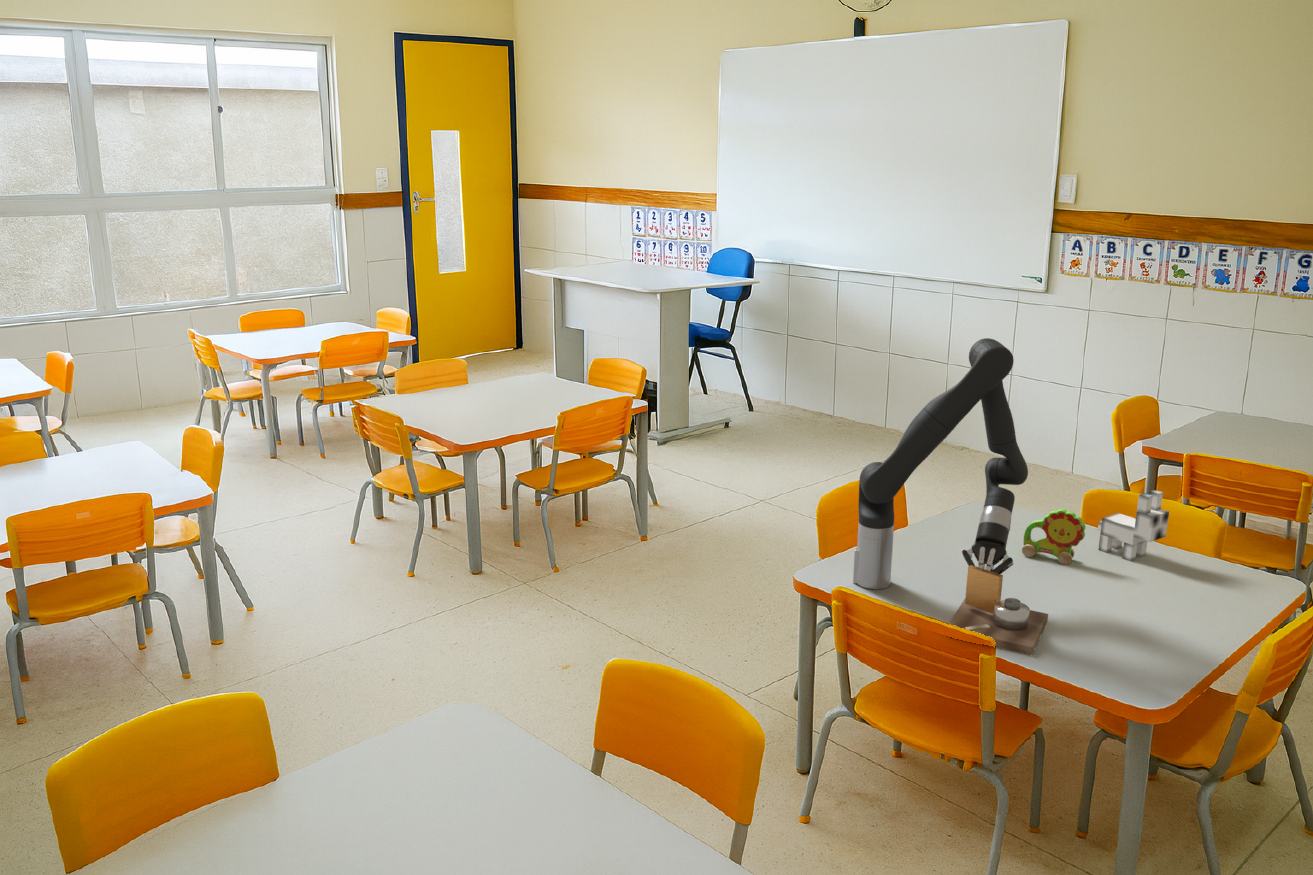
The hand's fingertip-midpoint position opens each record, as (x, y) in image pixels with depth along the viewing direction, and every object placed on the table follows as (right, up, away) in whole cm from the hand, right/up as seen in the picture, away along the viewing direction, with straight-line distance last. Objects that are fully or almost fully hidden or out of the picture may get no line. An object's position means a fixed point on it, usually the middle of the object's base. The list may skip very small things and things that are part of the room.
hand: (980, 589), depth 246 cm
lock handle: (+3, -6, -4) cm, 7 cm away
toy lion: (+32, +3, +37) cm, 49 cm away
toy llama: (+55, +4, +40) cm, 68 cm away
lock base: (+3, -9, -4) cm, 10 cm away
